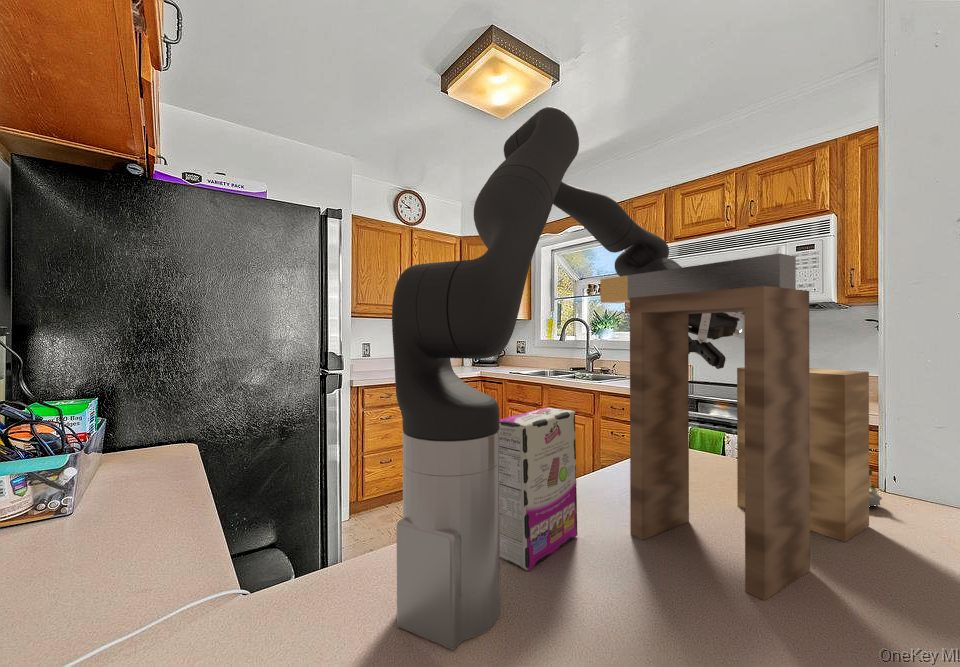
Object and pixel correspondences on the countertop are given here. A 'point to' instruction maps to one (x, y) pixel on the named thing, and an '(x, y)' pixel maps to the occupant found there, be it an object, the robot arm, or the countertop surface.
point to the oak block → (829, 450)
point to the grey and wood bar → (704, 278)
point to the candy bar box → (537, 485)
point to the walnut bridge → (768, 423)
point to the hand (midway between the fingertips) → (751, 357)
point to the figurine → (873, 493)
